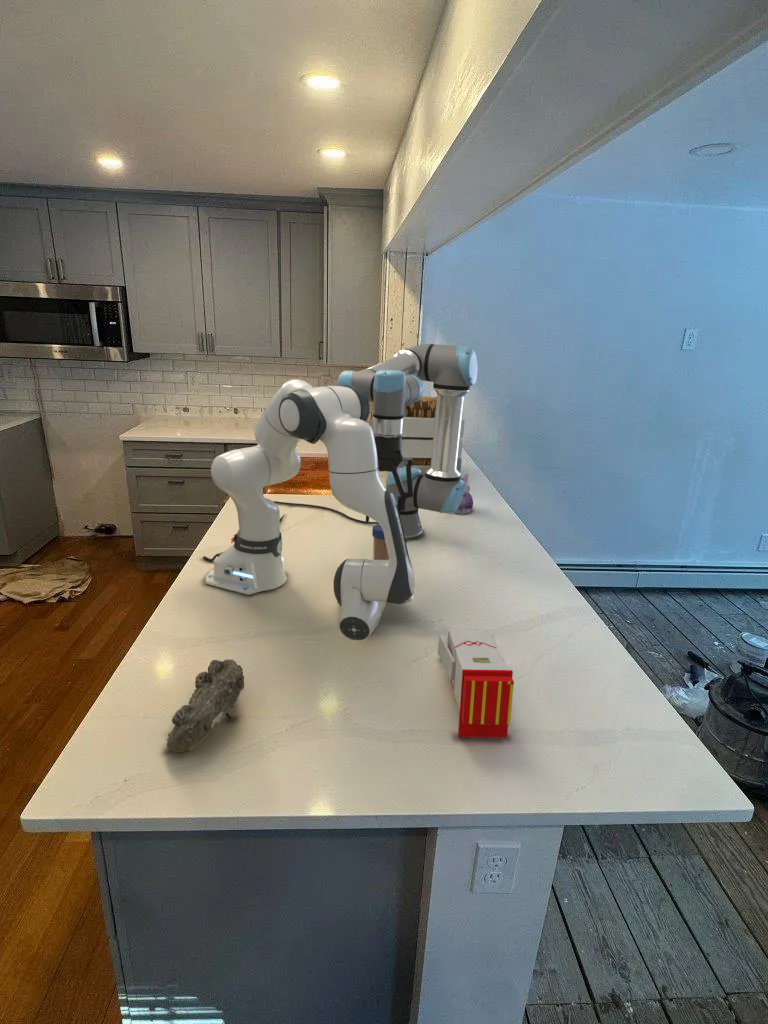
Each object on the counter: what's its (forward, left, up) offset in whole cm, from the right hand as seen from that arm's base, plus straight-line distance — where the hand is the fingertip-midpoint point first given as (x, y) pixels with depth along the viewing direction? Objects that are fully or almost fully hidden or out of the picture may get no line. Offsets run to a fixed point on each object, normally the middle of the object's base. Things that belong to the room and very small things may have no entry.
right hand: (382, 520), depth 148 cm
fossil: (+18, -57, -22) cm, 63 cm away
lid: (0, 0, -2) cm, 2 cm away
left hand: (-1, +1, -16) cm, 16 cm away
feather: (-67, +10, -22) cm, 71 cm away
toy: (+43, -11, -22) cm, 50 cm away
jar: (0, 0, -22) cm, 22 cm away
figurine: (-35, +73, -22) cm, 84 cm away
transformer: (-84, +96, -22) cm, 130 cm away
